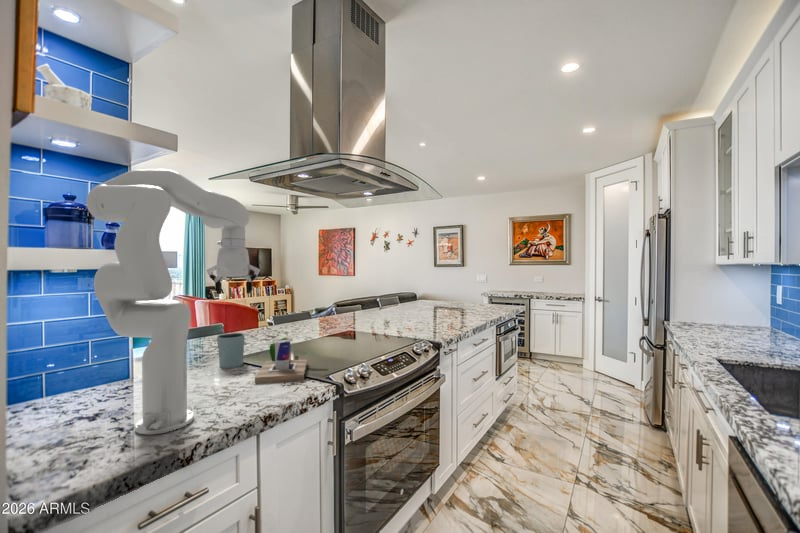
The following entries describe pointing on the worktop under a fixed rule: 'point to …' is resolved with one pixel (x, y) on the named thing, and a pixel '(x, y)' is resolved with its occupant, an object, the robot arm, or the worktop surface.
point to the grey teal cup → (230, 350)
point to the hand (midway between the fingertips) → (233, 293)
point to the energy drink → (282, 354)
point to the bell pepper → (272, 350)
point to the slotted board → (281, 372)
